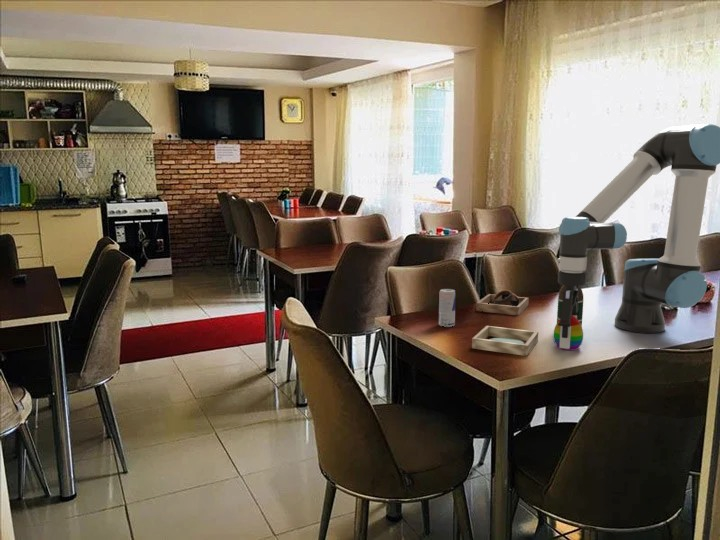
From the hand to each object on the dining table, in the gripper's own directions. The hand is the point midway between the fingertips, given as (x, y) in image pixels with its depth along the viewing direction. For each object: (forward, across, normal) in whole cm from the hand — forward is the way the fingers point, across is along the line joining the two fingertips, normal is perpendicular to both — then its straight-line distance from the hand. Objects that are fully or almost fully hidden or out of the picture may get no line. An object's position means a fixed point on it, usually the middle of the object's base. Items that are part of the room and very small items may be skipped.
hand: (567, 342), depth 175 cm
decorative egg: (+2, 0, 0) cm, 2 cm away
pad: (+2, +6, -17) cm, 18 cm away
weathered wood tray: (+2, -41, -29) cm, 50 cm away
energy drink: (+2, -8, -40) cm, 41 cm away
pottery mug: (+2, -41, -27) cm, 49 cm away
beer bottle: (+2, -17, -2) cm, 17 cm away
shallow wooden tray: (+2, +6, -17) cm, 18 cm away
